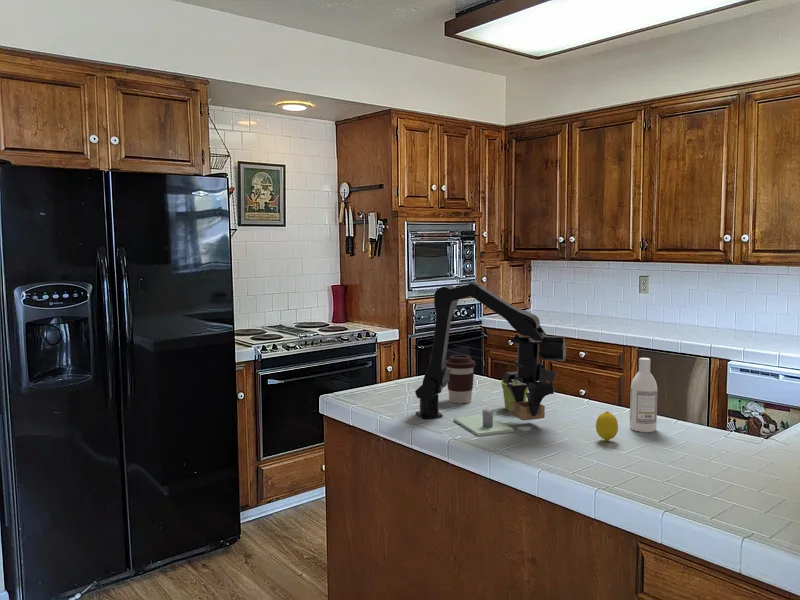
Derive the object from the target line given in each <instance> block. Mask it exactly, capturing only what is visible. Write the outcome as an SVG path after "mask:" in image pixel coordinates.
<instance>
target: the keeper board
mask: <svg viewBox="0 0 800 600" xmlns="http://www.w3.org/2000/svg"><path fill="white" fill-rule="evenodd" d="M453 422H455V423H456V422H457V423H456V424H458V425H459V424H460V425H459V426H461V427H463V428H464V427H465V428H464V429H466V430H467V429H468V430H467V431H469V432H470V431H471V432H470V433H472V434H474V435H475V436H477V437H482V436H484V437H485V436H491V435H492V436H493V435H499V434H500V433H501V434H508V433H515V432H514V431H515V429H514V428H513V427H511V426H509V425H508V424H505V423H504V422H502V421H500V420H498V419H496V418H494V410H493V409H488V408H486V409H482V414H479V415H471V416H470V415H469V416H461V417H454V418H453Z"/></svg>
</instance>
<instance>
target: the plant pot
mask: <svg viewBox="0 0 800 600" xmlns="http://www.w3.org/2000/svg"><path fill="white" fill-rule="evenodd" d="M500 384H501V388H502V393H503V400H504V409H506V410H507V411H510V402H515V400H514V398H513V396H512V394H511V392H510V390H509V388H508V386H507V383H504V382H503V379H502V380H500ZM508 384H509V383H508ZM526 393H529V391H528V387H527V388H526V390H525V392H524V401H527V400H528V399H527V395H526Z"/></svg>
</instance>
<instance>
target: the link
mask: <svg viewBox="0 0 800 600" xmlns="http://www.w3.org/2000/svg"><path fill="white" fill-rule="evenodd" d="M545 408H546V406H545V405H543V404H541V403H540V406H539V409H538V412H537V414H536V416H532V414H531V411H530V407H529V403H528V400H526V401H519V402H510V410H509V411H510V414H509V415H511V416H512V417H514V418H517V419H519V420H521V421H533V420H539V419H540V420H541V419H546V417H545V414H546V413H545V412H546V410H545Z"/></svg>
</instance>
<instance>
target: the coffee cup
mask: <svg viewBox="0 0 800 600" xmlns="http://www.w3.org/2000/svg"><path fill="white" fill-rule="evenodd" d="M445 363H446V368H449V369H451V372H450V375H449V379H450V381H449V382H448V383H447V385H446V386H447V389H448V400H449V401H448V402H450V403H452V404H457V403H459V405H461V404H462V403H465V404H469V403H471V401H472V395H473V388H474V375H475V372H474V368H475V367H476V361H475V360H473V359H472V357H471V356H470V355H465V354H455V355H449V358H448V359H446V360H445Z"/></svg>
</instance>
